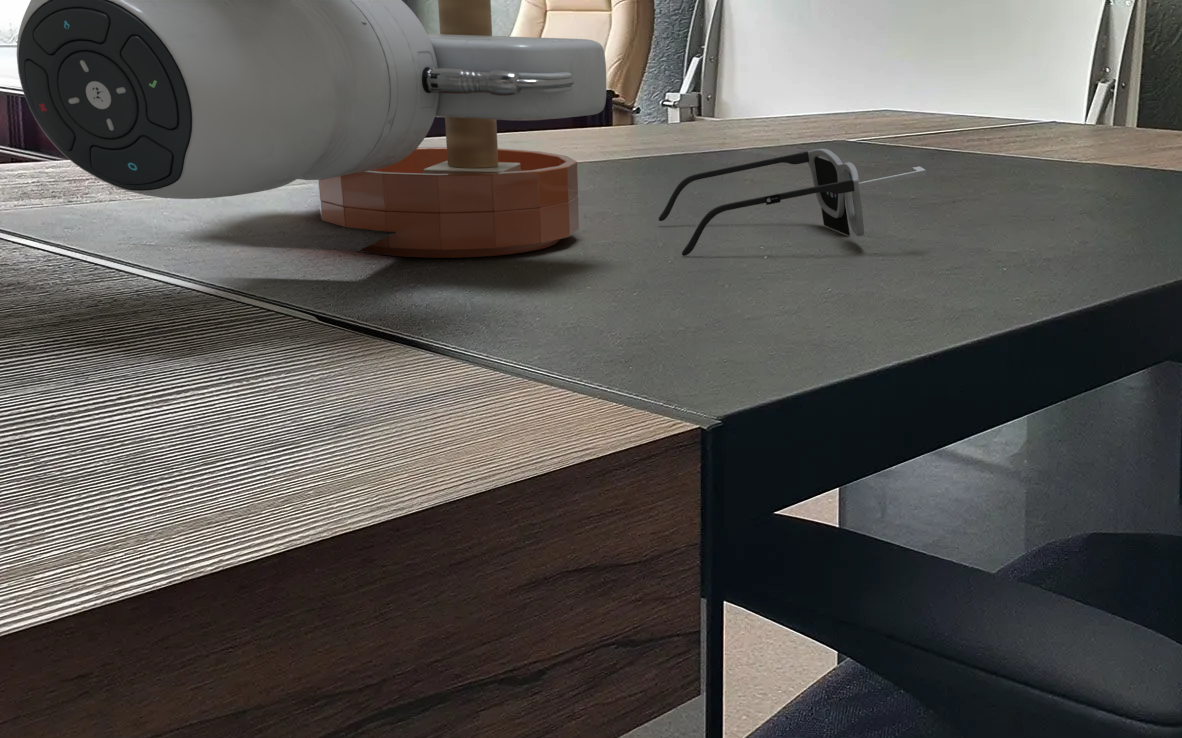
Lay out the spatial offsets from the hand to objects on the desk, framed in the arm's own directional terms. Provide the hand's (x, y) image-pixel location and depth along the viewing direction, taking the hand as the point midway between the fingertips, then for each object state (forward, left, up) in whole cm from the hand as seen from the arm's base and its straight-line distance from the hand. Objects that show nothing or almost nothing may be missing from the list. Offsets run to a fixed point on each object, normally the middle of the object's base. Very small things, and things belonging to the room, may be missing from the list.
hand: (475, 67), depth 78 cm
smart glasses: (+17, +3, -10) cm, 20 cm away
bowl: (-2, -1, -9) cm, 10 cm away
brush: (0, -1, -8) cm, 8 cm away
